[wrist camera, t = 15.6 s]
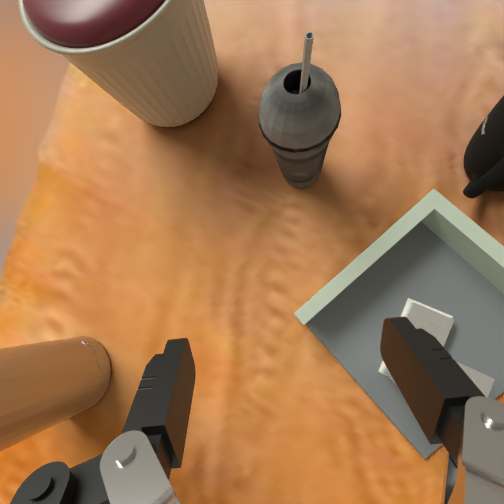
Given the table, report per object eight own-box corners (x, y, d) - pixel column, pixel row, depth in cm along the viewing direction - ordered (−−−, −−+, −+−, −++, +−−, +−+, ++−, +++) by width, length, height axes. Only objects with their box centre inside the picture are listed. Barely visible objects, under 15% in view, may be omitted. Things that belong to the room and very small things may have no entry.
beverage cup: (299, 134, 38) (291, -44, 18) (343, 167, 36) (385, 8, 16) (261, 175, 38) (212, 40, 18) (303, 209, 36) (297, 102, 16)
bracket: (420, 390, 30) (474, 432, 20) (381, 370, 31) (415, 402, 21) (448, 318, 30) (514, 326, 21) (410, 302, 31) (455, 302, 22)
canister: (157, 27, 45) (33, -199, 25) (259, 55, 41) (210, -192, 20) (103, 127, 44) (-75, -25, 24) (202, 166, 40) (89, 22, 19)
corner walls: (423, 457, 29) (443, 484, 25) (295, 312, 34) (293, 313, 30) (567, 332, 29) (614, 338, 24) (417, 203, 33) (433, 188, 29)
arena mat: (423, 457, 29) (425, 459, 29) (295, 312, 34) (295, 312, 33) (567, 332, 29) (572, 333, 28) (417, 203, 33) (419, 201, 33)
